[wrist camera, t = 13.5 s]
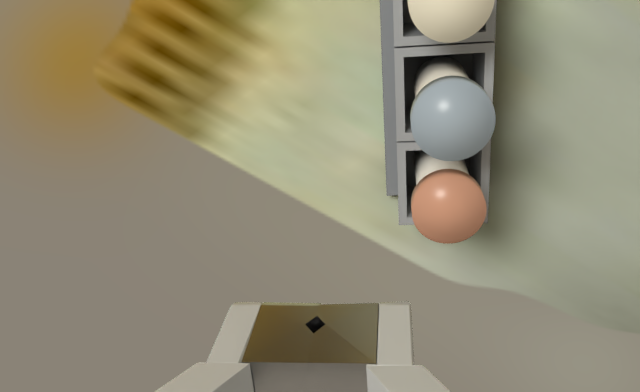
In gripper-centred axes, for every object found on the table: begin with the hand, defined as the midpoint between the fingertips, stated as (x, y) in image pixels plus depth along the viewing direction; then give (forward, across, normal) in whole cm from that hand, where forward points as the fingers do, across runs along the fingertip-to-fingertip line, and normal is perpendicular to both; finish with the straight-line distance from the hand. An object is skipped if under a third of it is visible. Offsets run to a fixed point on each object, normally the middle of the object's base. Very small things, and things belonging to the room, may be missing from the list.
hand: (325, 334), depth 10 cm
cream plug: (+29, -4, -3) cm, 30 cm away
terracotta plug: (+29, -4, +8) cm, 31 cm away
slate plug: (+28, -4, +2) cm, 28 cm away
